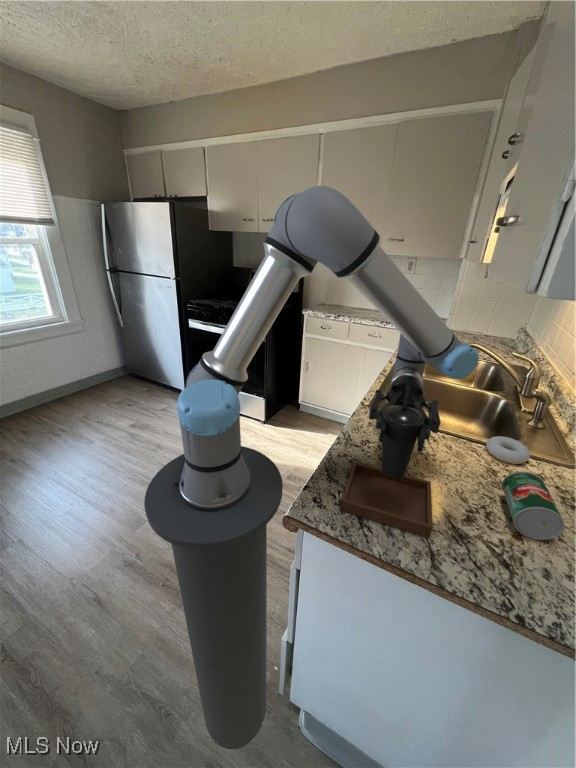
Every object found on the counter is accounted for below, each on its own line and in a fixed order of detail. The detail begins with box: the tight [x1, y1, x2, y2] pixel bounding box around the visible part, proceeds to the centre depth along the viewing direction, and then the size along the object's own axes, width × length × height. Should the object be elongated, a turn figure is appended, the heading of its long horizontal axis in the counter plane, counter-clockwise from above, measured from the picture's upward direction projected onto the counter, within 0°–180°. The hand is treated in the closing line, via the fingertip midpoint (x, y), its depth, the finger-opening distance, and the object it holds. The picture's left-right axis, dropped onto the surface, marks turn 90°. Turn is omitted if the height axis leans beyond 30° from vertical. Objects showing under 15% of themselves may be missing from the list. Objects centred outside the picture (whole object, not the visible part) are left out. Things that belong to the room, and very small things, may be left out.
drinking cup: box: [380, 384, 425, 478], centre depth 62 cm, size 8×8×20 cm
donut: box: [485, 435, 531, 465], centre depth 85 cm, size 10×4×10 cm
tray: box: [340, 461, 433, 539], centre depth 69 cm, size 18×14×3 cm
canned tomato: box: [501, 471, 566, 541], centre depth 64 cm, size 8×8×11 cm
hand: (401, 440), depth 57 cm, fingers closed on drinking cup, 6 cm apart
